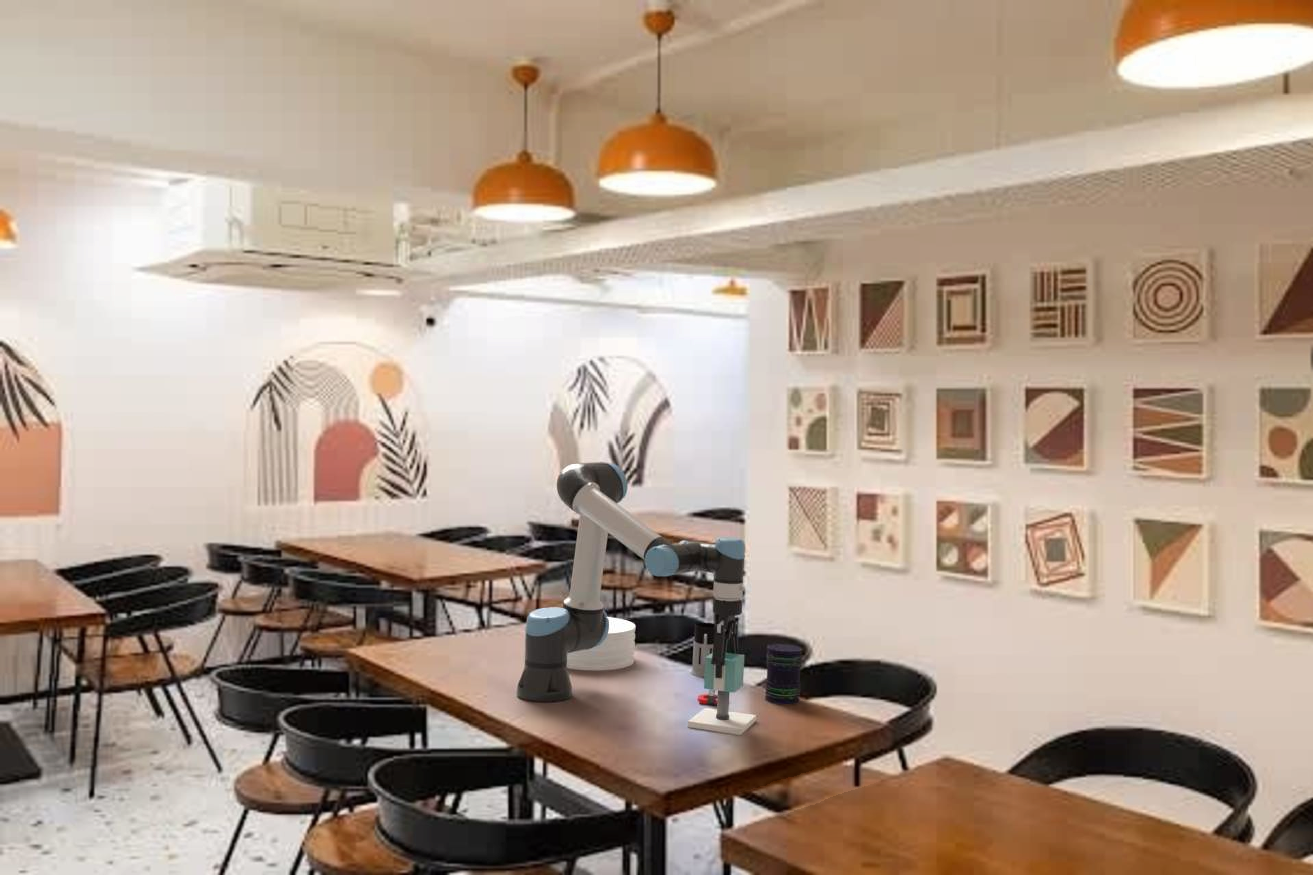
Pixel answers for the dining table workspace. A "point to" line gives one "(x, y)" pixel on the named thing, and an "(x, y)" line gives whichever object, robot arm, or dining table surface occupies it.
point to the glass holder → (702, 647)
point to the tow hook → (710, 696)
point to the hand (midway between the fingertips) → (724, 686)
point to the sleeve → (726, 672)
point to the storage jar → (783, 674)
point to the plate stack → (607, 649)
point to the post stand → (722, 718)
